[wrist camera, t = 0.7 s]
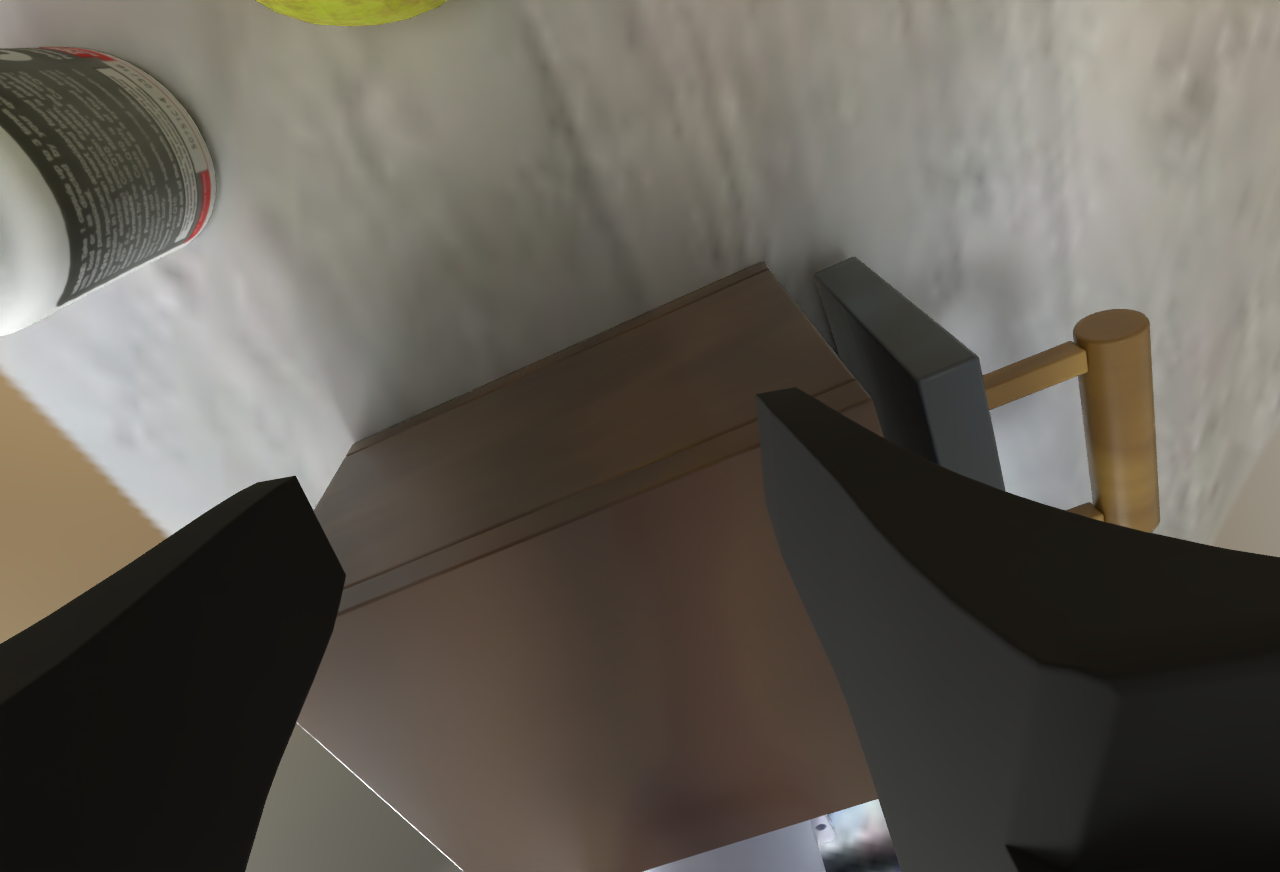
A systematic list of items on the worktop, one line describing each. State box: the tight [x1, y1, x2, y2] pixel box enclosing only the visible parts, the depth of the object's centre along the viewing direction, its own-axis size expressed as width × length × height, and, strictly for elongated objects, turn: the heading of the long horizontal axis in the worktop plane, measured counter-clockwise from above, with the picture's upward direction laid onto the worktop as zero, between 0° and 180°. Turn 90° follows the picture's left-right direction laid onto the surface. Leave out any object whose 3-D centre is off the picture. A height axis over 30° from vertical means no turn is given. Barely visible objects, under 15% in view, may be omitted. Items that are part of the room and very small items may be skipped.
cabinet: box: [296, 262, 884, 872], centre depth 19 cm, size 14×12×9 cm
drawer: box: [814, 257, 1160, 533], centre depth 18 cm, size 17×10×7 cm, turn 114°
